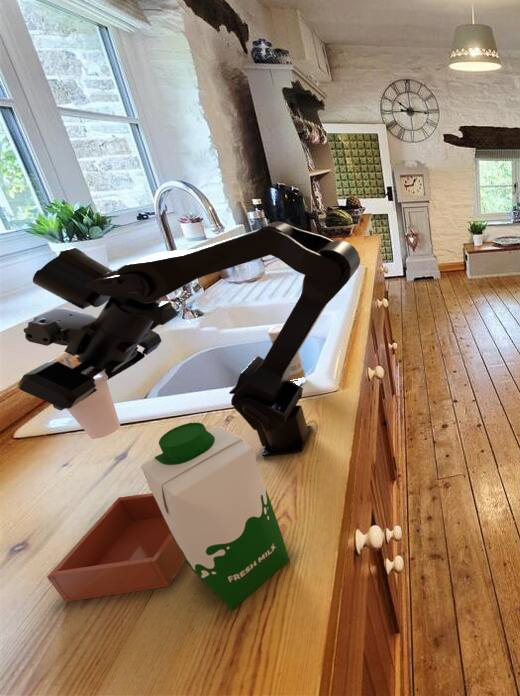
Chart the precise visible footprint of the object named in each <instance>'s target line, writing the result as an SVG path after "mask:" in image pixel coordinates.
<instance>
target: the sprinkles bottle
mask: <svg viewBox="0 0 520 696" xmlns="http://www.w3.org/2000/svg"><path fill="white" fill-rule="evenodd" d="M284 324H285V323H284ZM284 324H283V323H282V324H277V325H275V326H273V327H270V328H269V329H268V331H267V335H268V337H269V340H270V342H271V344H272V345H273V343H274V341H275V340H276V338H277V336H278V334H279V333H280V331H281V329H282V327H283V326H284ZM301 358H302V357H301V355H300V351H299V352H298V353H297V355H296V357H295V358H294V360H293V362H292V364H291V367H290V375H289V378H288V380H293V379H298V378H302V377H304V376H305V377H306V374H305V370H304V365H303V362H302V359H301ZM294 381H298V380H294ZM294 381H291V382H294Z"/></svg>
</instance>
